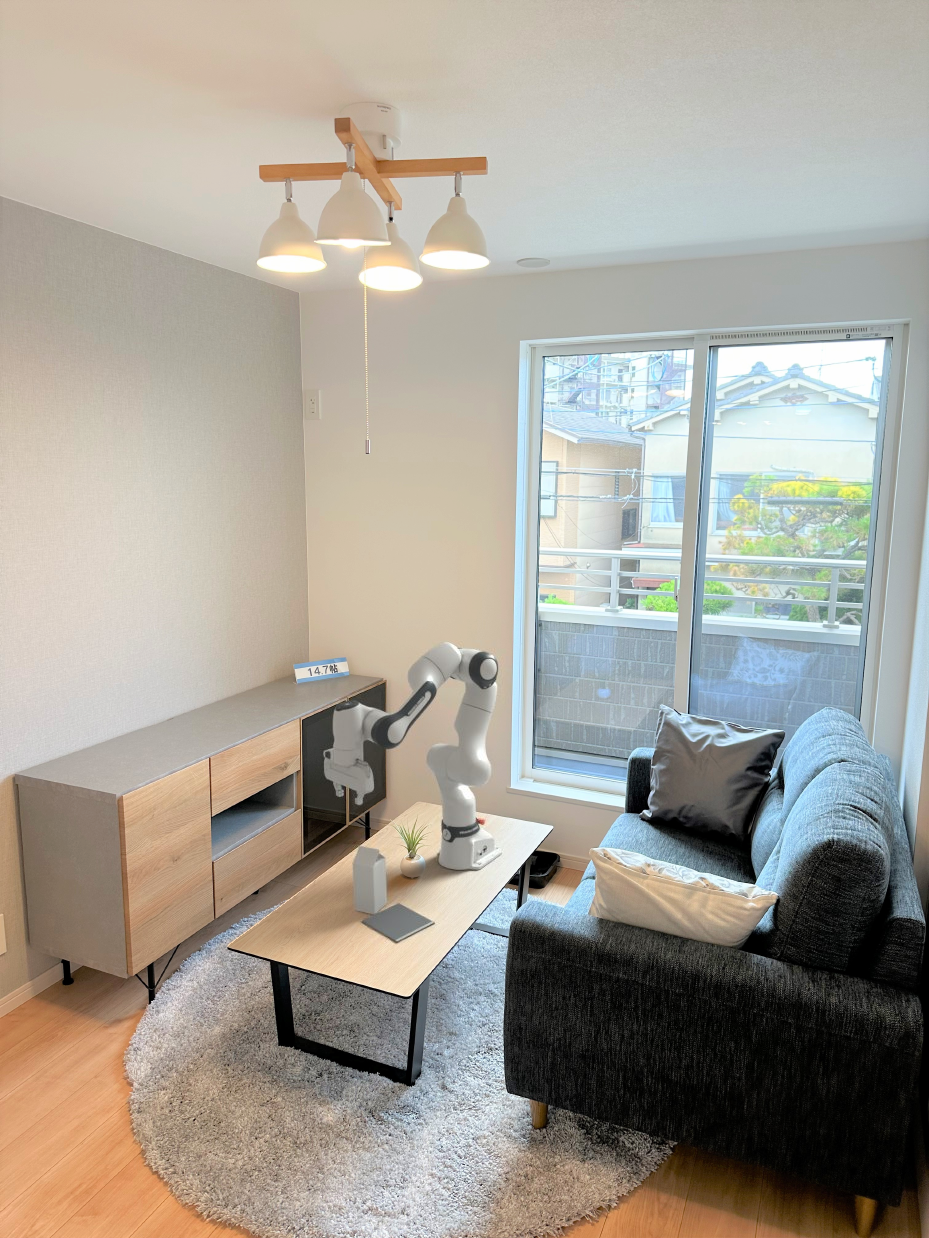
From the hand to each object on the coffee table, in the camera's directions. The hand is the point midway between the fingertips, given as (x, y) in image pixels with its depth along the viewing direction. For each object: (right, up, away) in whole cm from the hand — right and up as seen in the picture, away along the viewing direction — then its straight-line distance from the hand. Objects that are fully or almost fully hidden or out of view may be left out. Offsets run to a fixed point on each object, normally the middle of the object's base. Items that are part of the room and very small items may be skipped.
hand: (349, 799), depth 249 cm
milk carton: (+7, -32, -2) cm, 33 cm away
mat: (+16, -33, -11) cm, 38 cm away
